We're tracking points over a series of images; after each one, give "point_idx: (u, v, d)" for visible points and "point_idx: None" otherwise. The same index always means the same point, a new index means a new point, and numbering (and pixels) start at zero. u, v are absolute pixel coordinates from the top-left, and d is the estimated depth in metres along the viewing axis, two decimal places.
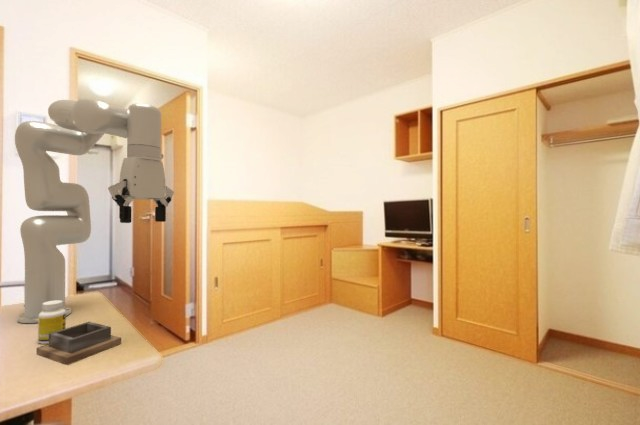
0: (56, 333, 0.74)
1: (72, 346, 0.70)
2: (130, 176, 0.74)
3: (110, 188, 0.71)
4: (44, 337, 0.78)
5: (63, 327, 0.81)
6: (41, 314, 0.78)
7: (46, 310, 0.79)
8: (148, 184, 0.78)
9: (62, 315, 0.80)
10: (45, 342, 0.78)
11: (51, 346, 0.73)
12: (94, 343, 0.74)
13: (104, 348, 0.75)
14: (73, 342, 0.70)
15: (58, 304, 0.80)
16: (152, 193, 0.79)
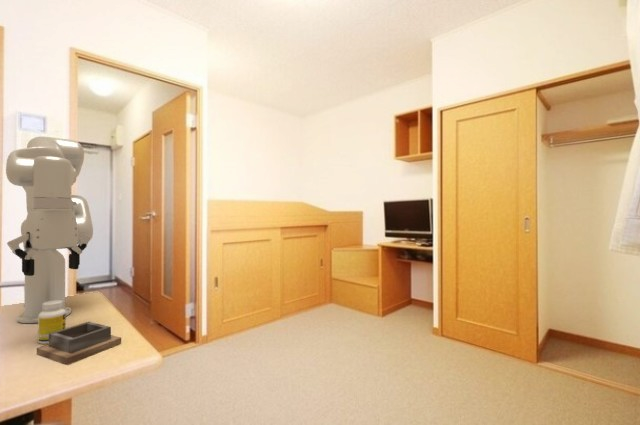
0: (56, 333, 0.74)
1: (72, 346, 0.70)
2: (32, 230, 0.75)
3: (9, 243, 0.72)
4: (44, 337, 0.78)
5: (63, 327, 0.81)
6: (41, 314, 0.78)
7: (46, 310, 0.79)
8: (55, 234, 0.79)
9: (62, 315, 0.80)
10: (45, 342, 0.78)
11: (51, 346, 0.73)
12: (94, 343, 0.74)
13: (104, 348, 0.75)
14: (73, 342, 0.70)
15: (58, 304, 0.80)
16: (60, 243, 0.80)
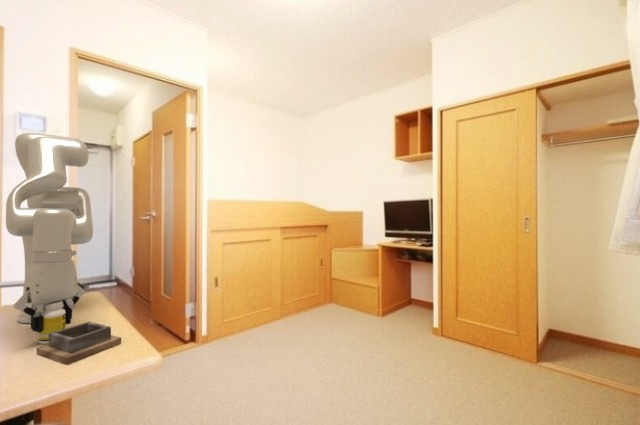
0: (56, 333, 0.74)
1: (72, 346, 0.70)
2: (32, 285, 0.75)
3: (15, 307, 0.73)
4: (44, 337, 0.78)
5: (63, 327, 0.81)
6: (41, 314, 0.78)
7: (46, 309, 0.79)
8: (54, 287, 0.79)
9: (62, 315, 0.80)
10: (45, 342, 0.78)
11: (51, 346, 0.73)
12: (94, 343, 0.74)
13: (104, 348, 0.75)
14: (73, 342, 0.70)
15: (58, 304, 0.80)
16: (60, 295, 0.80)
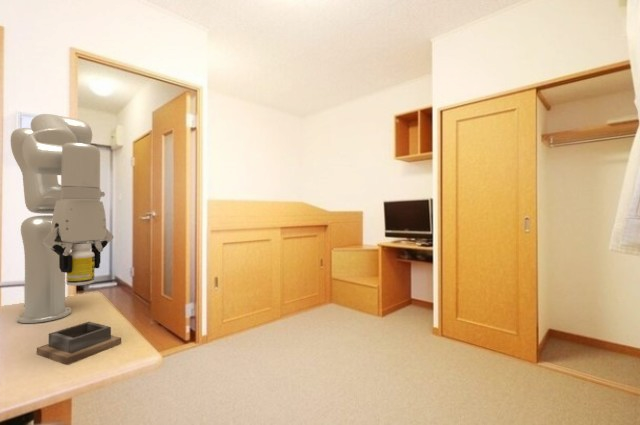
0: (56, 333, 0.74)
1: (72, 346, 0.70)
2: (61, 221, 0.70)
3: (44, 242, 0.69)
4: (73, 278, 0.73)
5: (92, 270, 0.76)
6: (70, 254, 0.73)
7: (75, 250, 0.74)
8: (84, 226, 0.74)
9: (92, 257, 0.76)
10: (75, 283, 0.73)
11: (51, 346, 0.73)
12: (94, 343, 0.74)
13: (104, 348, 0.75)
14: (73, 342, 0.70)
15: (87, 245, 0.75)
16: (89, 235, 0.75)
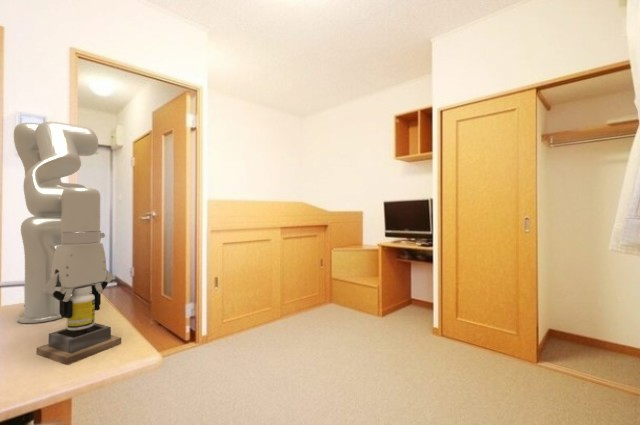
0: (56, 333, 0.74)
1: (72, 346, 0.70)
2: (61, 267, 0.71)
3: (44, 290, 0.69)
4: (73, 323, 0.73)
5: (92, 313, 0.76)
6: (70, 299, 0.73)
7: (75, 294, 0.74)
8: (84, 270, 0.74)
9: (92, 301, 0.76)
10: (75, 328, 0.73)
11: (51, 346, 0.73)
12: (94, 343, 0.74)
13: (104, 348, 0.75)
14: (73, 342, 0.70)
15: (87, 288, 0.75)
16: (89, 279, 0.75)
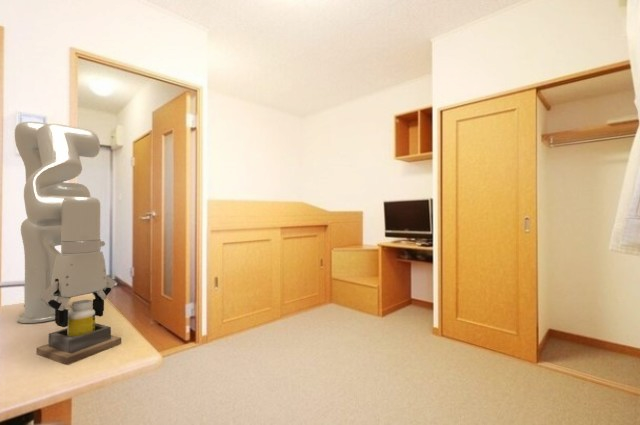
0: (56, 333, 0.74)
1: (72, 346, 0.70)
2: (61, 277, 0.71)
3: (41, 297, 0.68)
4: None
5: (93, 328, 0.76)
6: (71, 314, 0.74)
7: (75, 310, 0.74)
8: (84, 279, 0.74)
9: (92, 316, 0.76)
10: None
11: (51, 346, 0.73)
12: (94, 343, 0.74)
13: (104, 348, 0.75)
14: (73, 342, 0.70)
15: (88, 304, 0.76)
16: (89, 288, 0.75)
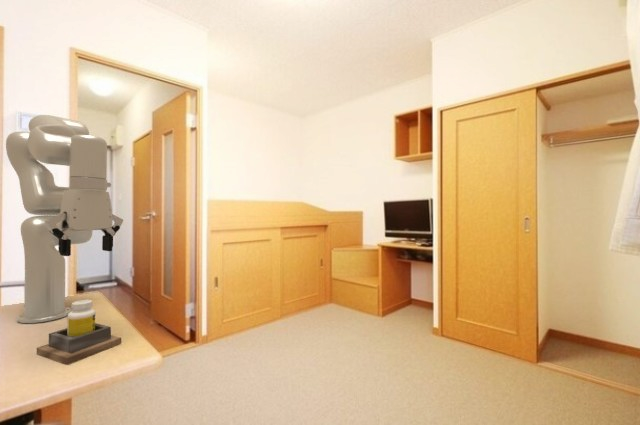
0: (56, 333, 0.74)
1: (72, 346, 0.70)
2: (69, 209, 0.74)
3: (46, 222, 0.71)
4: None
5: (93, 328, 0.76)
6: (71, 314, 0.74)
7: (75, 310, 0.74)
8: (90, 215, 0.77)
9: (92, 316, 0.76)
10: None
11: (51, 346, 0.73)
12: (94, 343, 0.74)
13: (104, 348, 0.75)
14: (73, 342, 0.70)
15: (88, 304, 0.76)
16: (95, 224, 0.78)
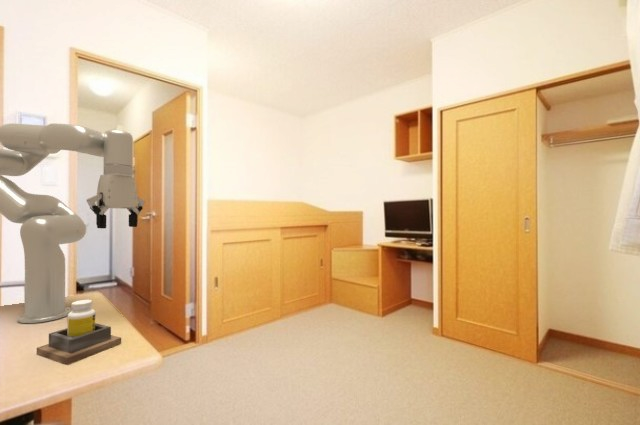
0: (56, 333, 0.74)
1: (72, 346, 0.70)
2: (105, 190, 0.91)
3: (88, 200, 0.88)
4: None
5: (93, 328, 0.76)
6: (71, 314, 0.74)
7: (75, 310, 0.74)
8: (121, 196, 0.94)
9: (92, 316, 0.76)
10: None
11: (51, 346, 0.73)
12: (94, 343, 0.74)
13: (104, 348, 0.75)
14: (73, 342, 0.70)
15: (88, 304, 0.76)
16: (124, 203, 0.95)
